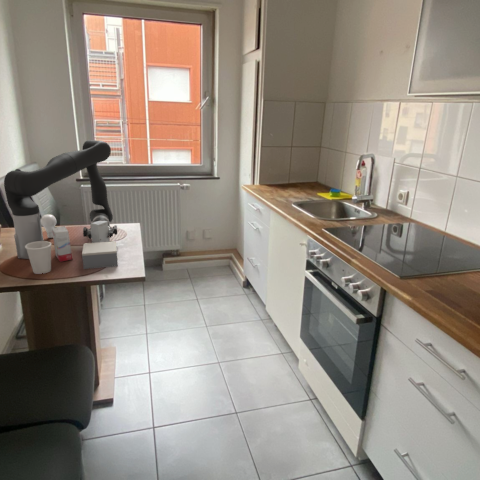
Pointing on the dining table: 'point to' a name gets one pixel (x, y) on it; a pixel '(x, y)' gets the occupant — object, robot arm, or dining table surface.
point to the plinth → (99, 255)
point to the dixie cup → (40, 256)
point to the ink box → (62, 243)
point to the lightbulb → (48, 224)
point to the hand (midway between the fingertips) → (100, 235)
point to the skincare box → (99, 231)
